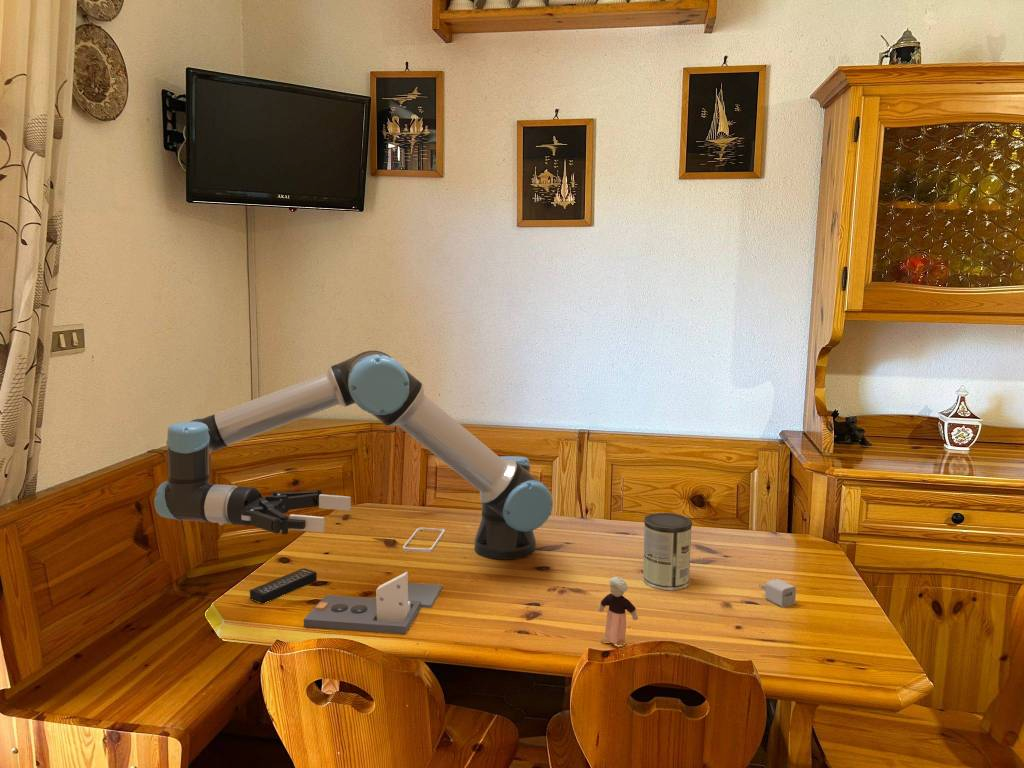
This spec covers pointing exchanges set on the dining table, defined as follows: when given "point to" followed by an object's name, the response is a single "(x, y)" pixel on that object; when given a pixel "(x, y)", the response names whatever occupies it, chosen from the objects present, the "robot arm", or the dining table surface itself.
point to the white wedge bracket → (393, 600)
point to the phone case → (422, 548)
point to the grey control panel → (356, 615)
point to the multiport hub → (283, 585)
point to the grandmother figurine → (617, 612)
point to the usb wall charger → (779, 592)
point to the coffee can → (667, 551)
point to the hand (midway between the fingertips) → (337, 513)
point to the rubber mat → (424, 593)
